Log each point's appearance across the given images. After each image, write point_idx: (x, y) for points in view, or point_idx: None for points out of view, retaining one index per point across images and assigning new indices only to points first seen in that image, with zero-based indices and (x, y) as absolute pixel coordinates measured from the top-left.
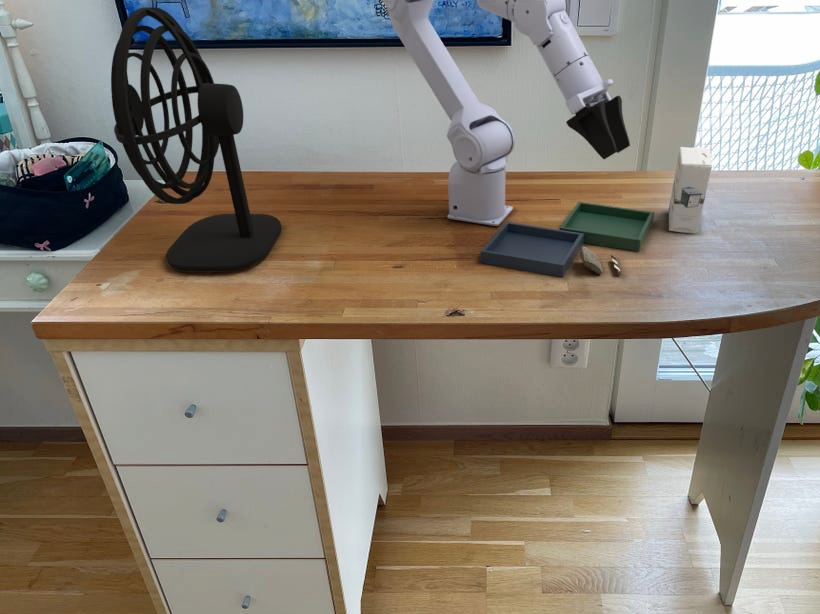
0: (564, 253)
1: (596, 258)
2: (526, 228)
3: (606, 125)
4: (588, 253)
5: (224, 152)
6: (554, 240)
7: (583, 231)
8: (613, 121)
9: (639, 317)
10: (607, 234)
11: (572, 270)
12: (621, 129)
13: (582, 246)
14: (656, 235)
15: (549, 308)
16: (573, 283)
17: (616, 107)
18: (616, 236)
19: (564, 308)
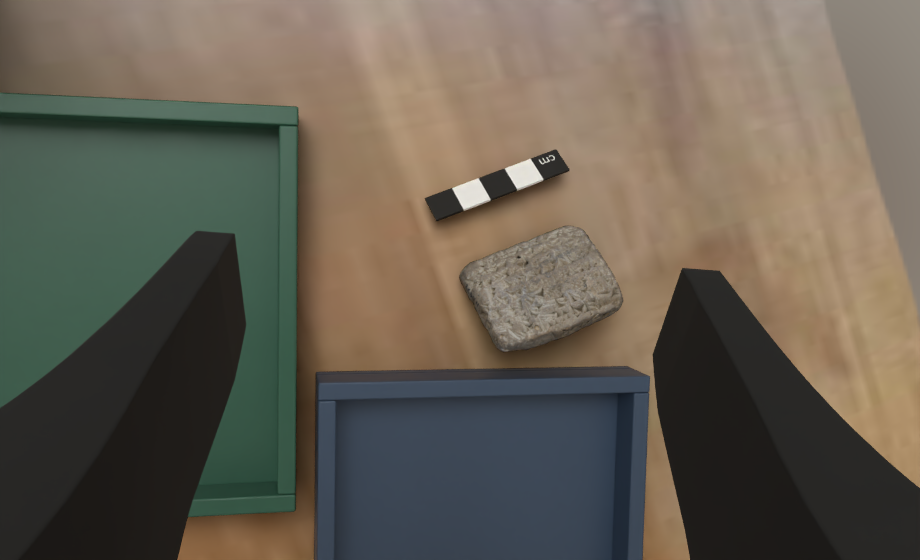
0: (457, 418)
1: (531, 266)
2: None
3: (846, 437)
4: (552, 303)
5: None
6: (347, 500)
7: (294, 392)
8: (139, 480)
9: (814, 34)
10: (290, 273)
11: (561, 347)
12: (174, 354)
13: (507, 344)
14: (72, 56)
15: (843, 343)
16: (658, 314)
17: (67, 528)
18: (297, 227)
19: (830, 295)
